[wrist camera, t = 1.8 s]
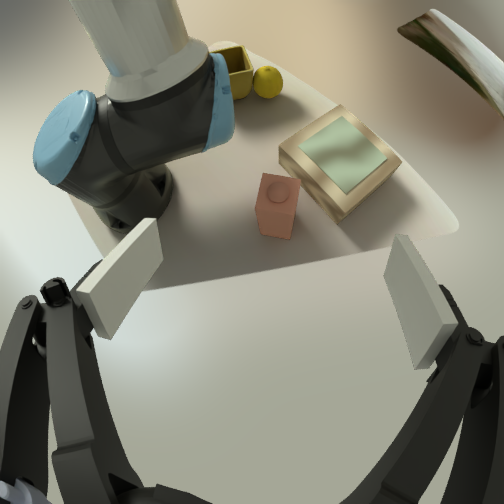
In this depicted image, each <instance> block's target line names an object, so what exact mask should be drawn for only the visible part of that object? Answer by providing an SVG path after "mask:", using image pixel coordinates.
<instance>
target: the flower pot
mask: <svg viewBox="0 0 504 504" xmlns="http://www.w3.org/2000/svg"><path fill="white" fill-rule="evenodd" d="M210 53H215V54H217V53H218V54H221V55H223V57H224V59H225V62H226V65H227V69H228V73H229V78H230V86H231V89H230V90H231V93H232V98H233V100H236V99H241V98H245V97H246V96H247V95H248V94H249V93H250V91H251V89H252V84H253V66H252V64H251V62H250V60H249V57H248V55H247V53H246V50H245V48H244V46H243V45H241V46H234V47H229V48H225V49H220V50H216V51H212V52H209V54H210Z"/></svg>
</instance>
